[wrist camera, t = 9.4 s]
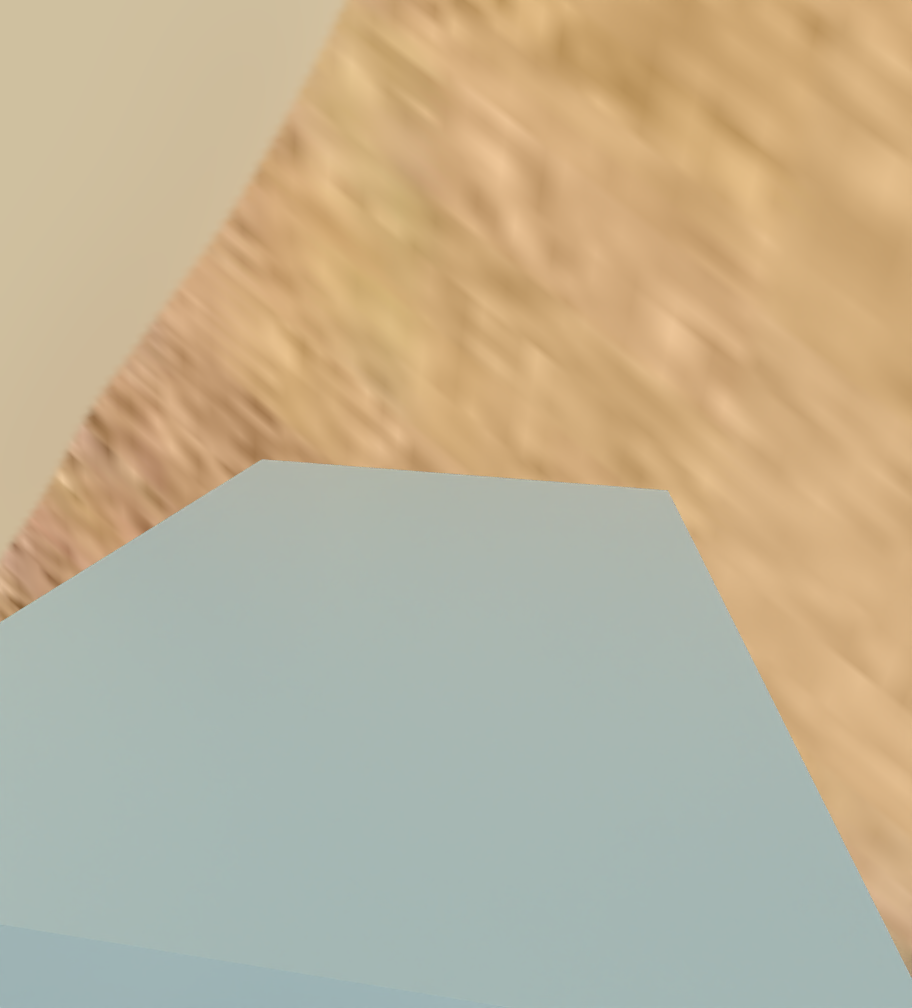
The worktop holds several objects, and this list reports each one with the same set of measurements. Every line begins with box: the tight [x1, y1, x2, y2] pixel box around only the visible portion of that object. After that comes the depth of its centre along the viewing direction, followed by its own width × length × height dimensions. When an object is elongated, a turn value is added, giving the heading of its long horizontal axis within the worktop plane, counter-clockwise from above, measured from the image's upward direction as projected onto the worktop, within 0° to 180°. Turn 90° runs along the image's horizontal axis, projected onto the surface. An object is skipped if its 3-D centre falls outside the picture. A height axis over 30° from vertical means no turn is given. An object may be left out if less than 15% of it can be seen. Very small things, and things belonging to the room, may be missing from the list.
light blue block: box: [0, 459, 912, 1008], centre depth 9 cm, size 7×10×9 cm
